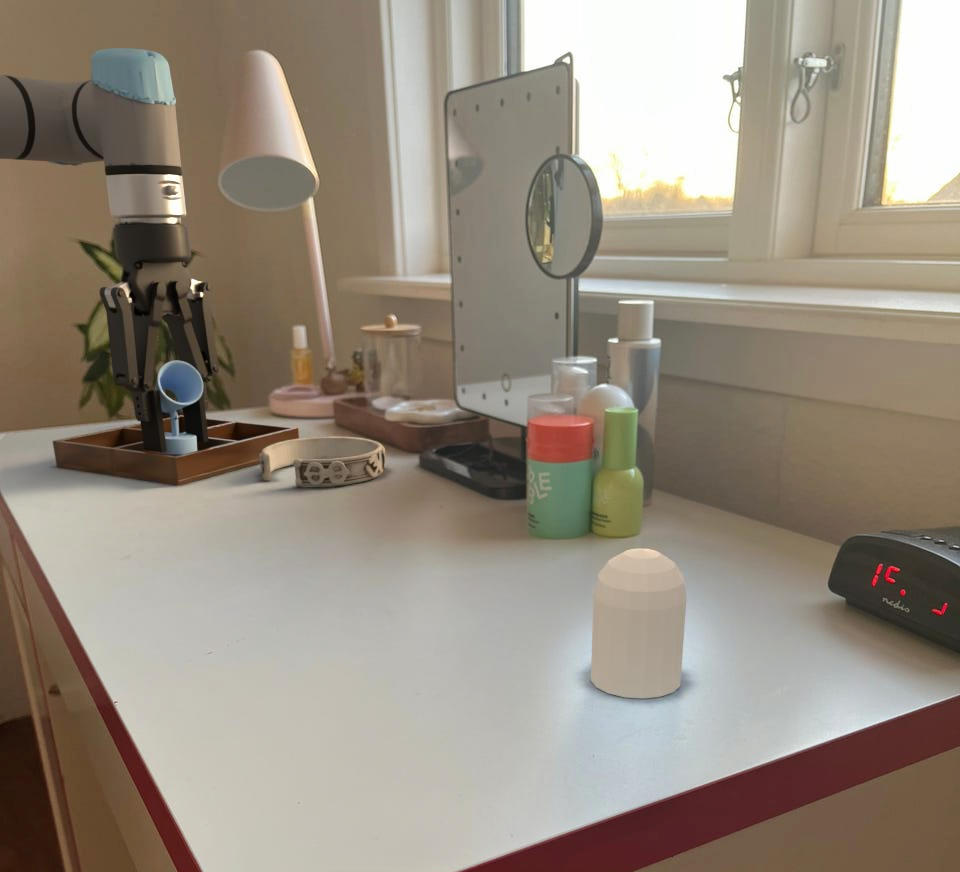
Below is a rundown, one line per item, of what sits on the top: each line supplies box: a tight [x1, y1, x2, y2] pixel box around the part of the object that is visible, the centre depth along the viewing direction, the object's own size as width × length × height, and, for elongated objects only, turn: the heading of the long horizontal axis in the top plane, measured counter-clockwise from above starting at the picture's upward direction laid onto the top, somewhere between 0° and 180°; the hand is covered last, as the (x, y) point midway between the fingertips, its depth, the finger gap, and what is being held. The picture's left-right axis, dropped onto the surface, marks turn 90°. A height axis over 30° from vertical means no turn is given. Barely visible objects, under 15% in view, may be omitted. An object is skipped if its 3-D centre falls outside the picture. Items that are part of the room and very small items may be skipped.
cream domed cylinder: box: [590, 548, 687, 699], centre depth 59 cm, size 5×5×8 cm
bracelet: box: [259, 435, 387, 488], centre depth 113 cm, size 14×14×3 cm
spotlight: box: [154, 360, 204, 454], centre depth 113 cm, size 5×10×7 cm
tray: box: [52, 415, 300, 486], centre depth 121 cm, size 20×20×3 cm
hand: (176, 445), depth 114 cm, fingers closed on spotlight, 6 cm apart
